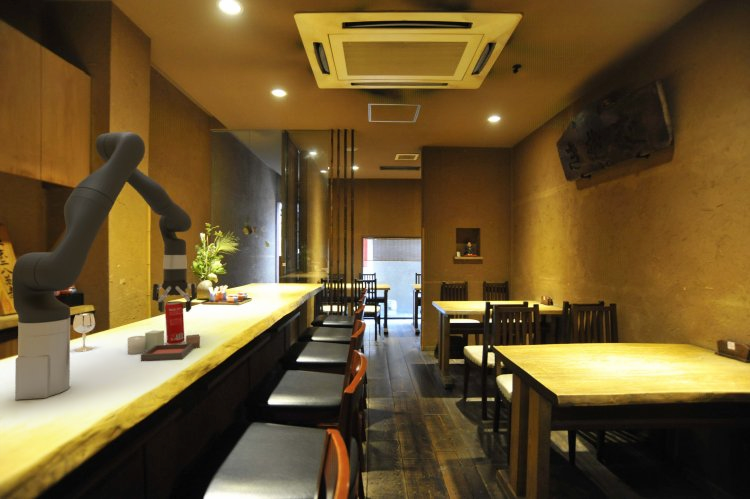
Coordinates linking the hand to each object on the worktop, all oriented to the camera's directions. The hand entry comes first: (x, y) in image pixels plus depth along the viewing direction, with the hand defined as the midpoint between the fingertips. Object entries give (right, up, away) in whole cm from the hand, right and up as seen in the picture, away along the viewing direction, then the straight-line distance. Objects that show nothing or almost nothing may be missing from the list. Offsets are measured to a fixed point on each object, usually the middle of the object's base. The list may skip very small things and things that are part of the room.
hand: (175, 311), depth 134 cm
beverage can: (0, -12, 0) cm, 12 cm away
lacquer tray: (+6, -11, -15) cm, 20 cm away
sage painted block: (-2, -11, -8) cm, 14 cm away
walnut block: (+9, -12, -5) cm, 16 cm away
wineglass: (-26, -11, -10) cm, 30 cm away
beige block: (-6, -11, -13) cm, 18 cm away
